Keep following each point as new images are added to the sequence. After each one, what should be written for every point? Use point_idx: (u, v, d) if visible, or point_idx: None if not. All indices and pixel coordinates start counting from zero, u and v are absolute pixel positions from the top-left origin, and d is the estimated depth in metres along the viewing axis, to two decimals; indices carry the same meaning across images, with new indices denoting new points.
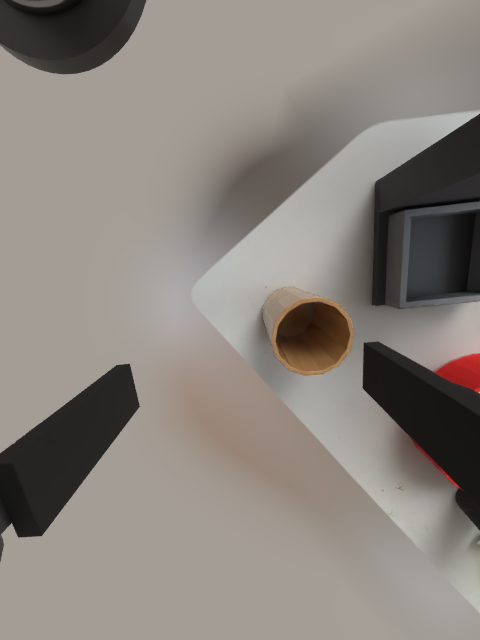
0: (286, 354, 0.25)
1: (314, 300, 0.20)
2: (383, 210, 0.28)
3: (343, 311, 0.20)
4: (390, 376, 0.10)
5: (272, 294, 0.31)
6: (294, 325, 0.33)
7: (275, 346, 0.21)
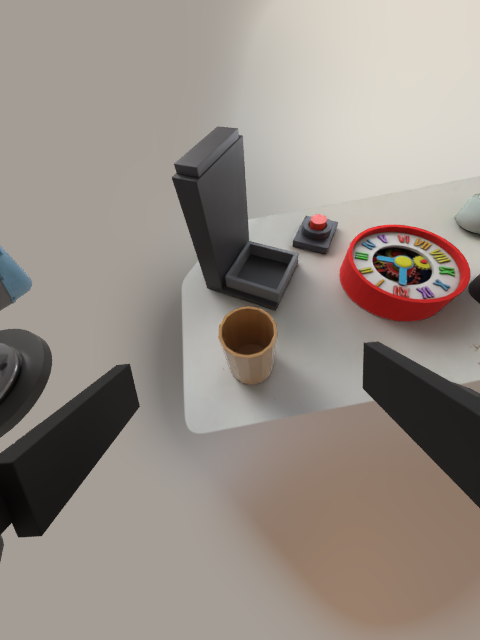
0: None
1: (224, 319, 0.30)
2: (221, 287, 0.47)
3: (241, 308, 0.31)
4: (390, 376, 0.10)
5: None
6: None
7: (239, 354, 0.28)
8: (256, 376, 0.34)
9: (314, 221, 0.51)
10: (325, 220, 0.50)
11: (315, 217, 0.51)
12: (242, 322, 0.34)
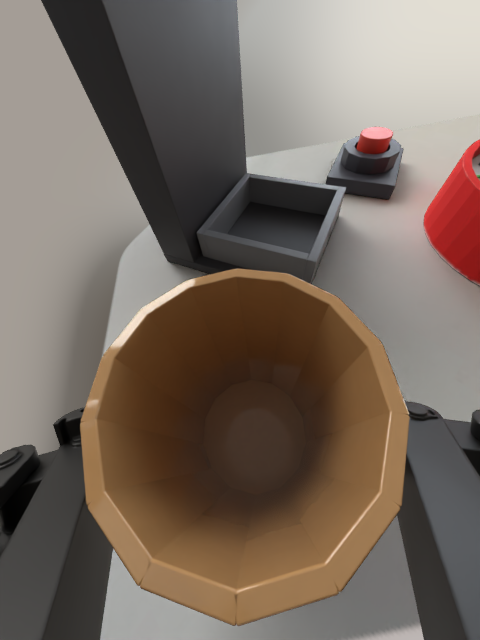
0: (302, 512, 0.07)
1: (133, 325, 0.07)
2: (190, 256, 0.23)
3: (211, 276, 0.07)
4: None
5: None
6: (282, 432, 0.15)
7: (172, 579, 0.04)
8: None
9: (369, 136, 0.27)
10: (390, 133, 0.27)
11: (369, 131, 0.28)
12: (224, 332, 0.10)
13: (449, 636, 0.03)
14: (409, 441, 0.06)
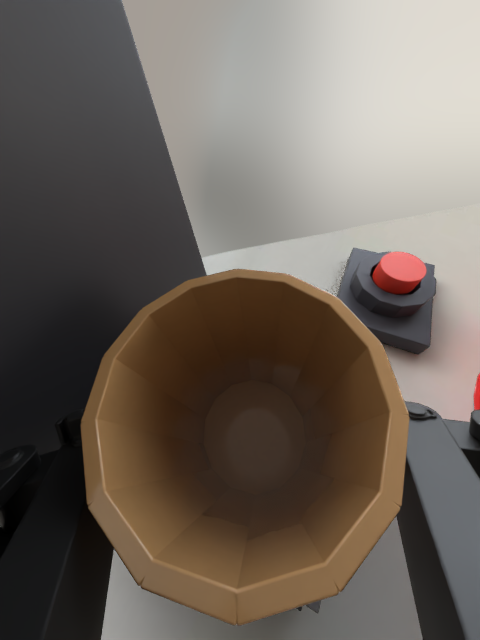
0: (302, 513, 0.07)
1: (134, 325, 0.07)
2: None
3: (212, 276, 0.07)
4: None
5: None
6: (282, 432, 0.15)
7: (172, 579, 0.04)
8: None
9: (392, 273, 0.19)
10: (422, 270, 0.19)
11: (392, 260, 0.20)
12: (224, 332, 0.10)
13: (448, 636, 0.03)
14: (408, 441, 0.06)
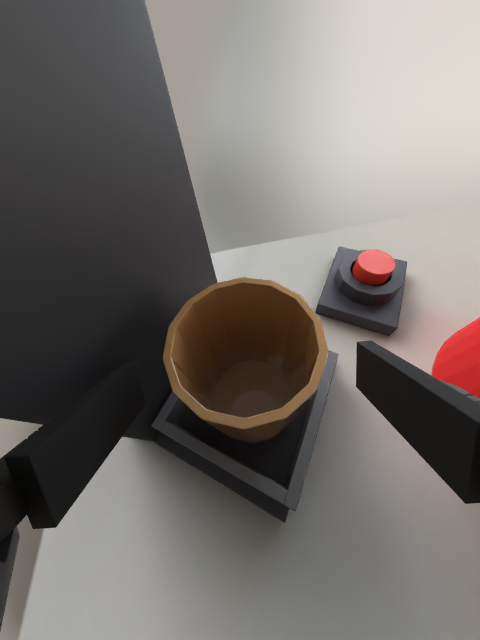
0: None
1: (184, 310, 0.12)
2: (147, 439, 0.19)
3: (227, 282, 0.13)
4: (381, 374, 0.10)
5: None
6: (274, 397, 0.20)
7: (216, 415, 0.09)
8: (264, 438, 0.15)
9: (367, 267, 0.23)
10: (392, 265, 0.23)
11: (368, 257, 0.23)
12: (233, 318, 0.15)
13: None
14: None
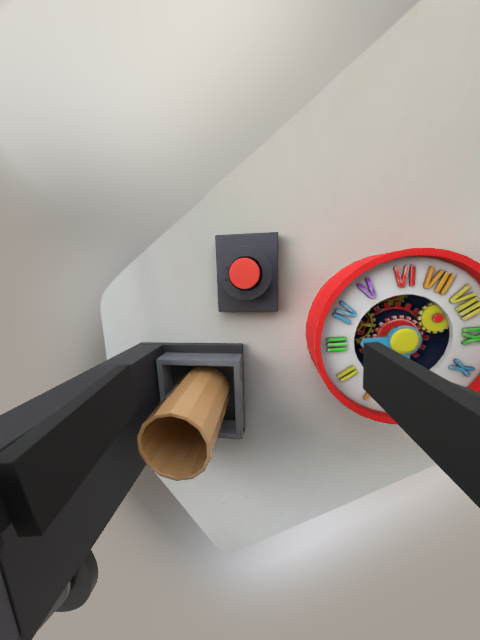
0: None
1: (139, 442, 0.23)
2: None
3: (148, 420, 0.22)
4: (390, 376, 0.10)
5: None
6: None
7: (180, 478, 0.23)
8: None
9: (238, 284, 0.27)
10: (256, 273, 0.26)
11: (236, 270, 0.26)
12: None
13: None
14: None
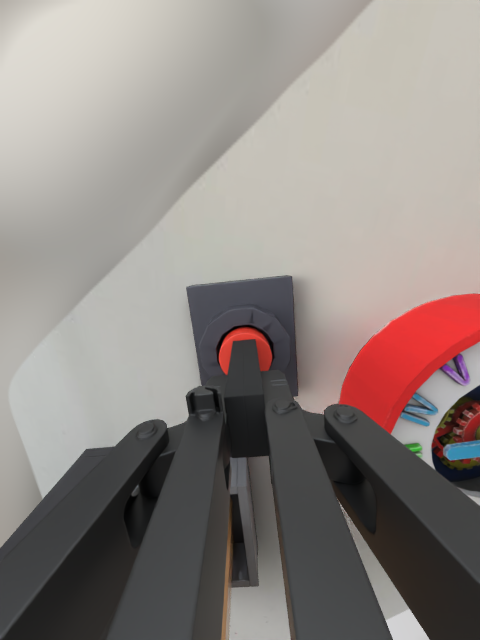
0: None
1: None
2: None
3: None
4: None
5: None
6: None
7: None
8: None
9: None
10: (267, 357, 0.15)
11: None
12: None
13: (291, 619, 0.04)
14: (274, 436, 0.06)
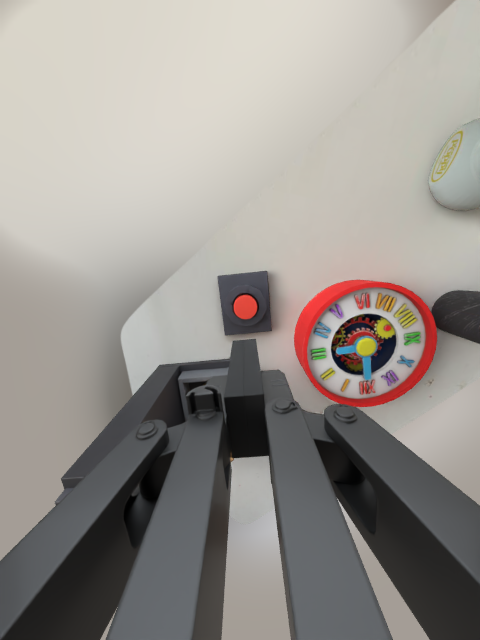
0: None
1: None
2: None
3: None
4: None
5: None
6: None
7: None
8: None
9: (241, 316, 0.34)
10: (255, 307, 0.34)
11: (239, 306, 0.34)
12: None
13: (291, 620, 0.03)
14: (274, 436, 0.06)
